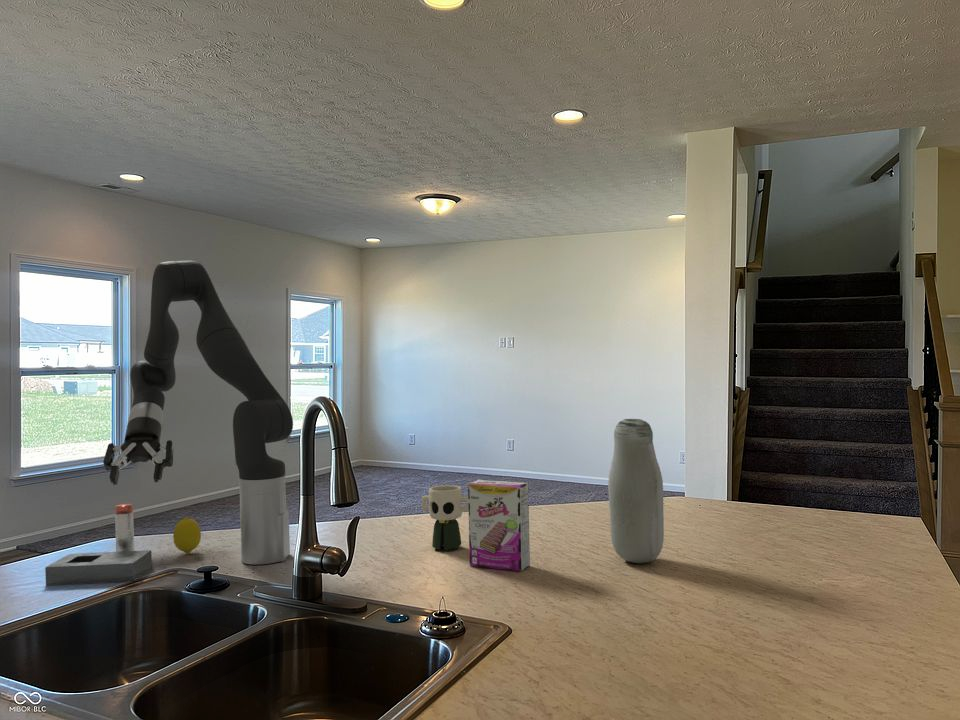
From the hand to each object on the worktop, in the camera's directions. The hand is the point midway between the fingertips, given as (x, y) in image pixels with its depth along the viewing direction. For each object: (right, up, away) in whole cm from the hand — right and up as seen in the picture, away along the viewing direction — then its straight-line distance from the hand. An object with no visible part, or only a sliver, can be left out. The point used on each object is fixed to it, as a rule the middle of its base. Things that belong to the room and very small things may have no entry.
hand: (135, 481), depth 160 cm
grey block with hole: (+3, -15, -20) cm, 25 cm away
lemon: (+14, -15, -5) cm, 21 cm away
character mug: (+70, -14, -6) cm, 71 cm away
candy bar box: (+81, -13, -20) cm, 85 cm away
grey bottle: (+108, -13, -20) cm, 110 cm away
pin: (+3, -15, -11) cm, 19 cm away
